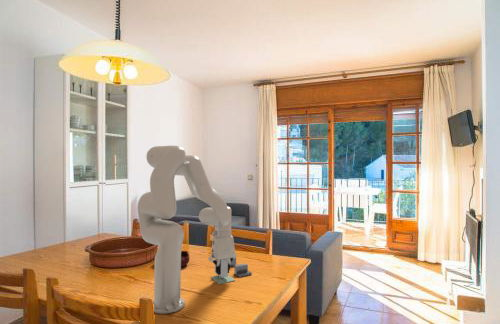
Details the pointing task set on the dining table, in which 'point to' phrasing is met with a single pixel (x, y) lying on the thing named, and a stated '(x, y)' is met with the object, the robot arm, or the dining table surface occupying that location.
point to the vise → (240, 269)
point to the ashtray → (184, 258)
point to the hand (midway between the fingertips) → (222, 272)
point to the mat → (222, 279)
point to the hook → (223, 268)
